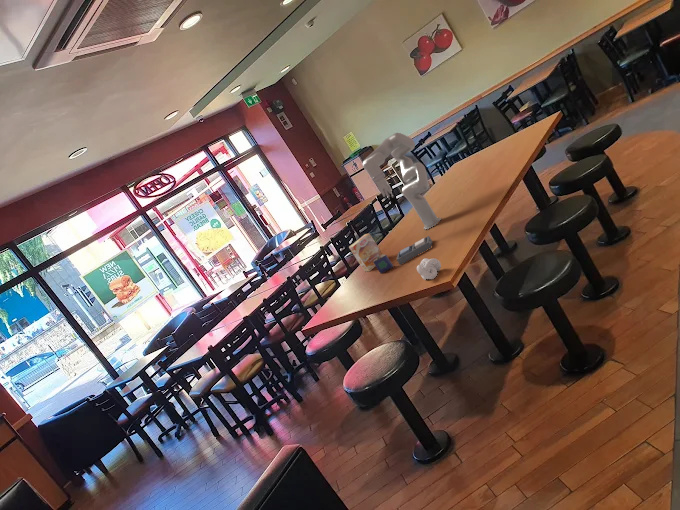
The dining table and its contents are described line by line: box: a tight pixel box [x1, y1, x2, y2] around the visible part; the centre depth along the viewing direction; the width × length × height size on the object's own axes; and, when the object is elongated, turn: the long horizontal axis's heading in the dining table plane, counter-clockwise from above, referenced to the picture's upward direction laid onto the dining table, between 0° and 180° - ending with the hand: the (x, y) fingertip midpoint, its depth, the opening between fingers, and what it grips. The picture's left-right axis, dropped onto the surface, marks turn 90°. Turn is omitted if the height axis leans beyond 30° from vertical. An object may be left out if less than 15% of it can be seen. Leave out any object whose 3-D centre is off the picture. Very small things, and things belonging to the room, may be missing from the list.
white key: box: [414, 237, 427, 248], centre depth 298 cm, size 6×6×3 cm
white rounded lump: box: [416, 257, 442, 281], centre depth 250 cm, size 11×12×9 cm
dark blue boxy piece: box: [373, 254, 394, 275], centre depth 305 cm, size 9×3×11 cm, turn 74°
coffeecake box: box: [348, 233, 384, 272], centre depth 330 cm, size 15×7×20 cm, turn 117°
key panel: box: [396, 235, 433, 266], centre depth 300 cm, size 12×21×4 cm, turn 76°
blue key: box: [399, 245, 412, 257], centre depth 302 cm, size 6×6×3 cm
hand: (395, 203), depth 308 cm, fingers closed
